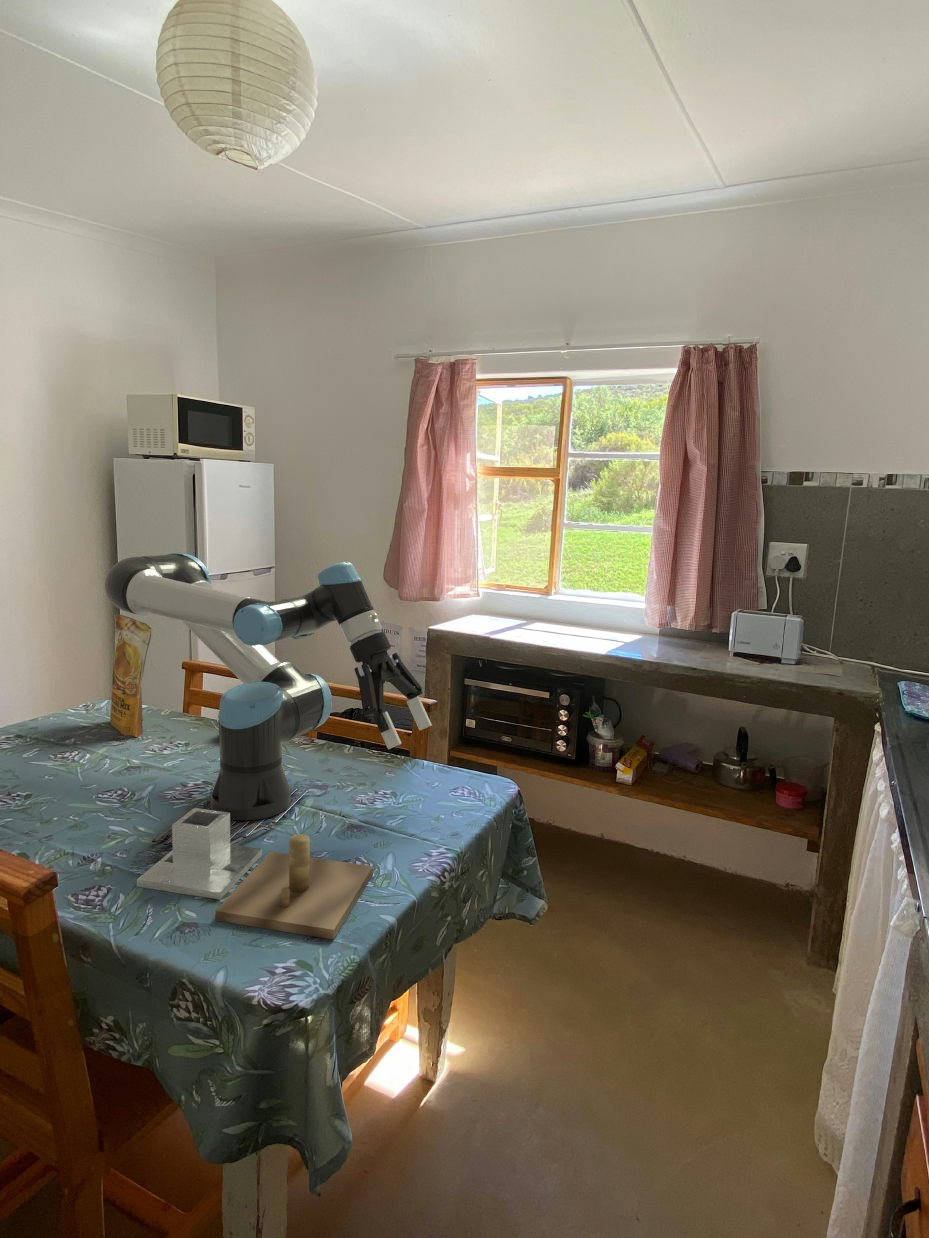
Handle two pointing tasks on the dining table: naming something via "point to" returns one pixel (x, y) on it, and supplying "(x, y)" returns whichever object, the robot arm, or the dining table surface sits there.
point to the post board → (297, 893)
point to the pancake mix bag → (128, 674)
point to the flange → (201, 857)
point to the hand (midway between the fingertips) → (411, 736)
